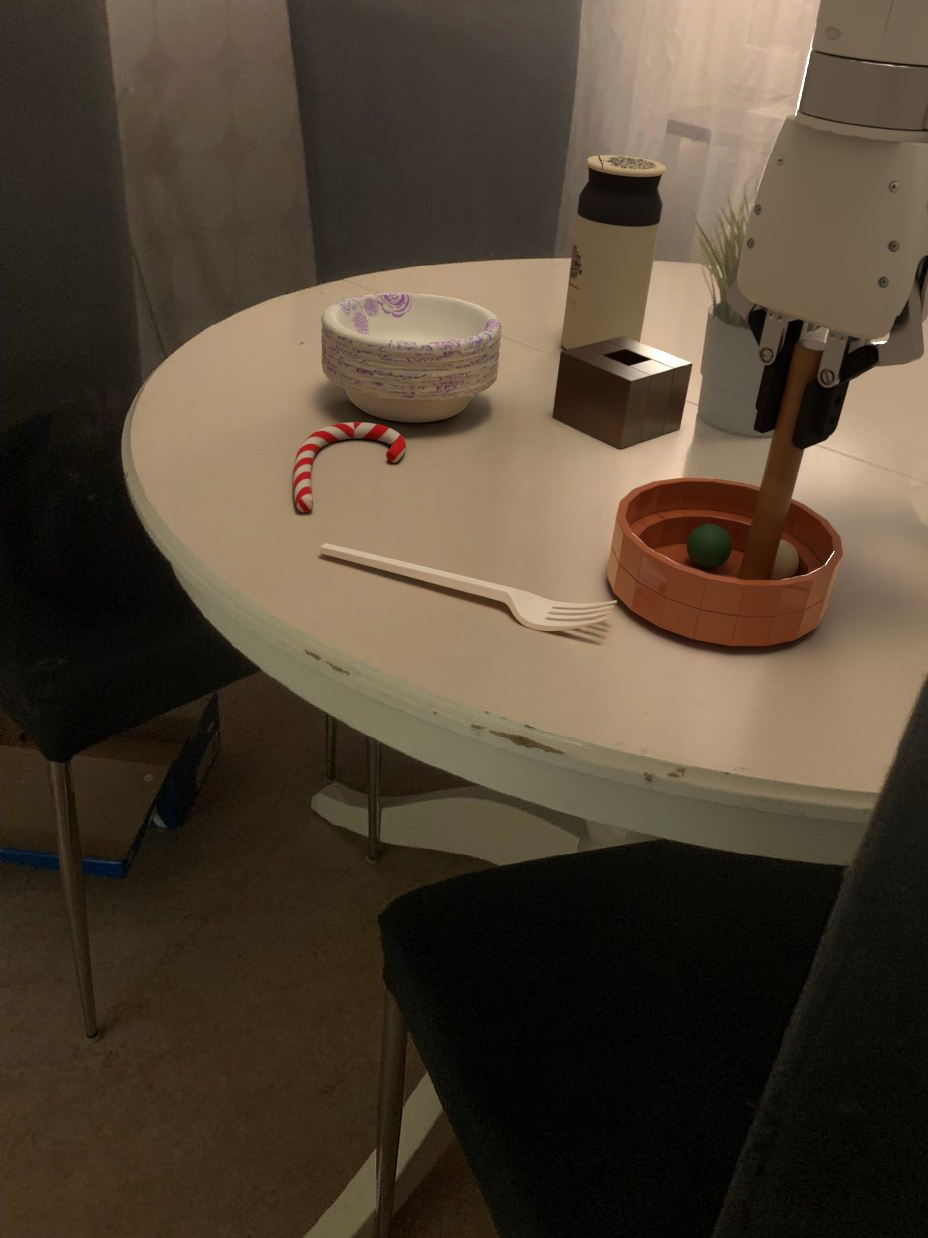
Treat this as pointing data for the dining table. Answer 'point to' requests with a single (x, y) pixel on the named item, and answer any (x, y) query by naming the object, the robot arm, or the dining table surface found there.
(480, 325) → the paper bowls
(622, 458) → the dining table surface
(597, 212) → the travel mug
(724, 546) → the green bead
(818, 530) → the bowl
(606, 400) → the holder
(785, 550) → the cream bead
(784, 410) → the stick
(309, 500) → the candy cane
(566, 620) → the fork
